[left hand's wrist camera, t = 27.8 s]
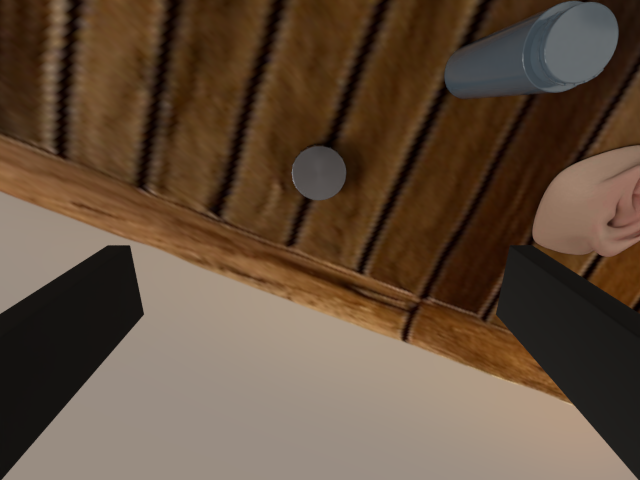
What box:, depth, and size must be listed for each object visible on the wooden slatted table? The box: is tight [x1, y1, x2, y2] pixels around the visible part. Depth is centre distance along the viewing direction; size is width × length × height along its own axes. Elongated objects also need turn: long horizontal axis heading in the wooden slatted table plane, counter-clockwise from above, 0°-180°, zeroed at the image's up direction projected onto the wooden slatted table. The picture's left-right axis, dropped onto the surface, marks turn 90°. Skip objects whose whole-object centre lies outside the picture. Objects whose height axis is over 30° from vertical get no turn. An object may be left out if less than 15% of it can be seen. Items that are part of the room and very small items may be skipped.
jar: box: [445, 1, 619, 99], centre depth 26 cm, size 5×5×15 cm
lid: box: [292, 144, 346, 200], centre depth 36 cm, size 6×6×2 cm
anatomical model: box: [533, 145, 640, 257], centre depth 36 cm, size 13×4×12 cm
